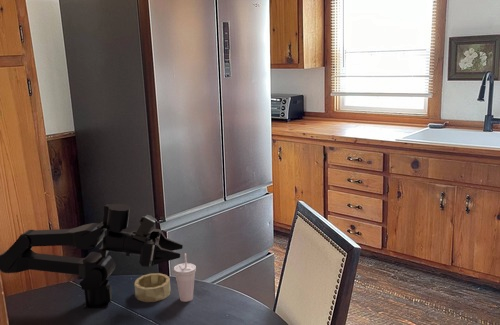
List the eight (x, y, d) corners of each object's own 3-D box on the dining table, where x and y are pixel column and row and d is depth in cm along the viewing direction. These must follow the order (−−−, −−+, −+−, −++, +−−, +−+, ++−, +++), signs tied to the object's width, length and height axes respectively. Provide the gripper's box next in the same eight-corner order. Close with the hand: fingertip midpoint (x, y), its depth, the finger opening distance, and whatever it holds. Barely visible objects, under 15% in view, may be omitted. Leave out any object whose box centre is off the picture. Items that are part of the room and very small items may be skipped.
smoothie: (186, 306, 132) (183, 259, 129) (170, 299, 135) (167, 254, 132) (202, 297, 137) (200, 252, 134) (186, 291, 140) (183, 247, 137)
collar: (133, 302, 134) (132, 289, 133) (139, 286, 144) (138, 274, 143) (168, 301, 135) (167, 288, 134) (171, 284, 145) (171, 272, 144)
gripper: (123, 221, 120) (184, 230, 122) (135, 208, 139) (188, 216, 140) (116, 263, 121) (177, 272, 123) (129, 245, 140) (181, 252, 141)
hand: (181, 251), depth 132 cm, fingers open, 9 cm apart
